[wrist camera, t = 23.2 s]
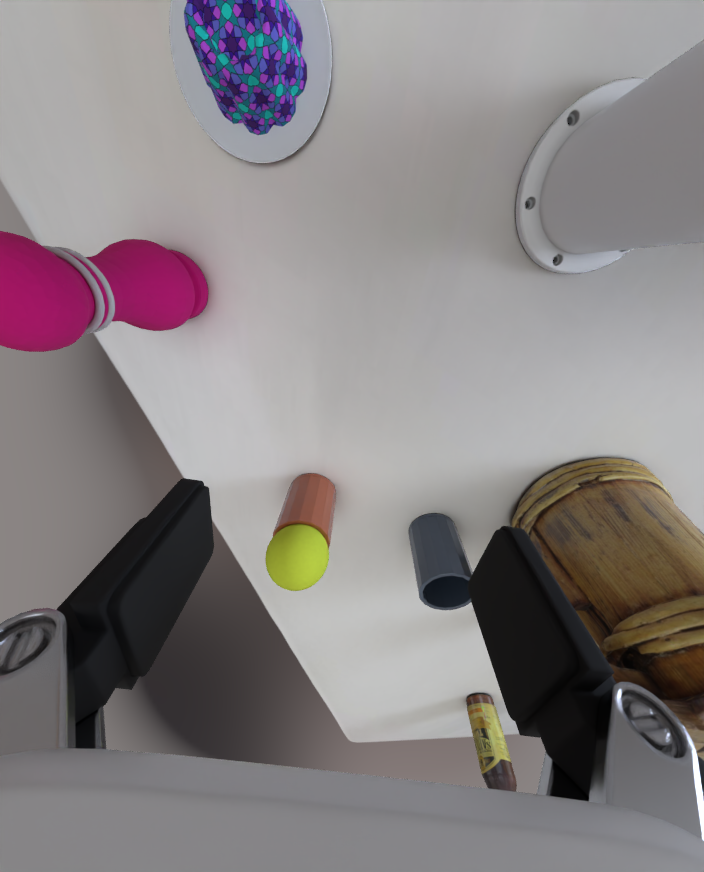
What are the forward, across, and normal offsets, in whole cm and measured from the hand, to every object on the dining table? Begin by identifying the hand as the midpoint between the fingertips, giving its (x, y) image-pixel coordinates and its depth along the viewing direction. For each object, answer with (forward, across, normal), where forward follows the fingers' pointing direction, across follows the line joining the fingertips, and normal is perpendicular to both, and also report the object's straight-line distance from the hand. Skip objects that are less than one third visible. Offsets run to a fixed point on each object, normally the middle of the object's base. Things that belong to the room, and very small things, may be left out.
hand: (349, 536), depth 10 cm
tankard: (+26, -32, +17) cm, 45 cm away
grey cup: (+26, -15, +24) cm, 39 cm away
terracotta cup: (+26, +3, +20) cm, 33 cm away
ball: (+15, +3, +20) cm, 26 cm away
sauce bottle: (+26, -41, +74) cm, 88 cm away
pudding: (+26, +12, -20) cm, 35 cm away
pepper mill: (+26, +19, -4) cm, 33 cm away
